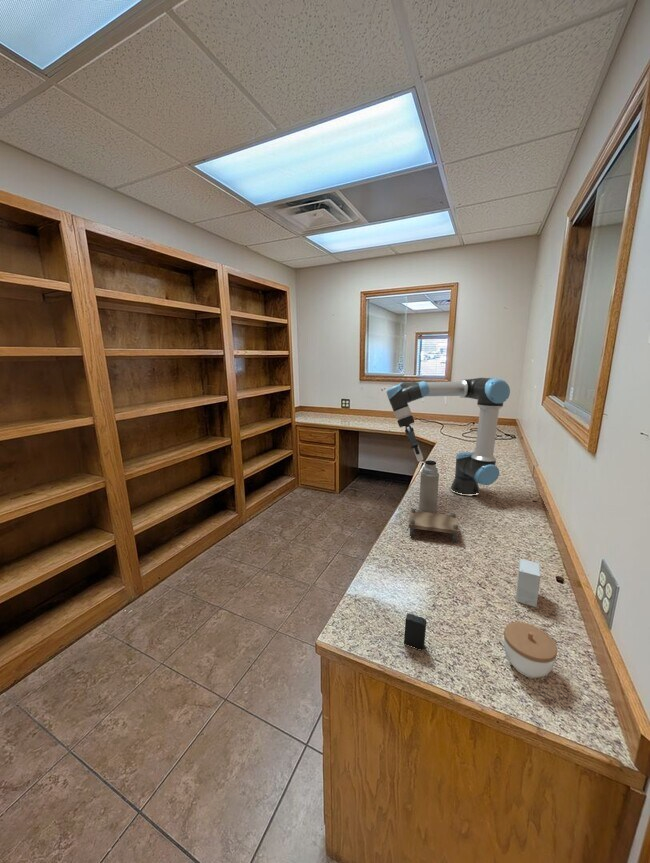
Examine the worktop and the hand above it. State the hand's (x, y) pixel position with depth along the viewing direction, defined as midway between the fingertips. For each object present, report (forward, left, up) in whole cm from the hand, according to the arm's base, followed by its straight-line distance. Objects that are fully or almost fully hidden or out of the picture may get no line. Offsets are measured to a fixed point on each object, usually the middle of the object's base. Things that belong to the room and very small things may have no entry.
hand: (420, 459), depth 155 cm
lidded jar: (-26, +79, -28) cm, 88 cm away
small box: (-33, +52, -28) cm, 68 cm away
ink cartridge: (0, +80, -28) cm, 85 cm away
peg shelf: (-6, +18, -28) cm, 34 cm away
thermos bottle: (-4, +4, -28) cm, 28 cm away
